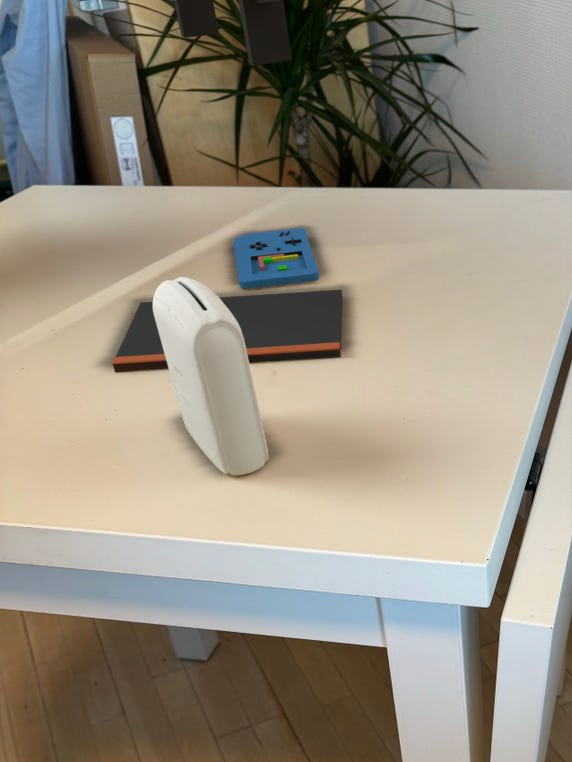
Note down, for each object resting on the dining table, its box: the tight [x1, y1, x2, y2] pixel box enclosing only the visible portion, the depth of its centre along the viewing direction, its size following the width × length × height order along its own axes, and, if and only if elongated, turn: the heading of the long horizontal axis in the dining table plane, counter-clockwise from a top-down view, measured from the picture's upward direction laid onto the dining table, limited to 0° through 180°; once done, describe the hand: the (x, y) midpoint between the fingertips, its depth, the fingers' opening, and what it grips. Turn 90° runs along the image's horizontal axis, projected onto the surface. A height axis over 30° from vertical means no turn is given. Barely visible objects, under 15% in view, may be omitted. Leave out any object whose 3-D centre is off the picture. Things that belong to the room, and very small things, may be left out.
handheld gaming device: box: [233, 227, 320, 290], centre depth 99 cm, size 8×1×15 cm
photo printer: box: [152, 276, 270, 476], centre depth 66 cm, size 10×4×12 cm, turn 32°
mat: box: [112, 289, 344, 373], centre depth 86 cm, size 20×14×1 cm
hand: (233, 48), depth 64 cm, fingers open, 13 cm apart
